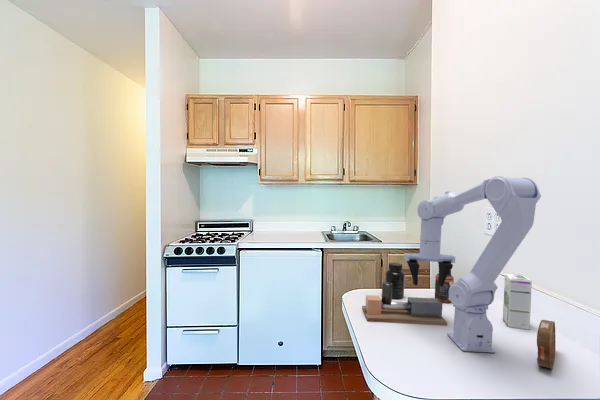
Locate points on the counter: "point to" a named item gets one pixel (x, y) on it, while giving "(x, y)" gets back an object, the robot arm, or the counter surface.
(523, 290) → the syrup box
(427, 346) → the counter surface
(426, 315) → the sleeve
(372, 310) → the socket
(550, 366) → the tin
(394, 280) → the supplement bottle
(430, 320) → the base board
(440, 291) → the supplement bottle
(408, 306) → the slide bolt
